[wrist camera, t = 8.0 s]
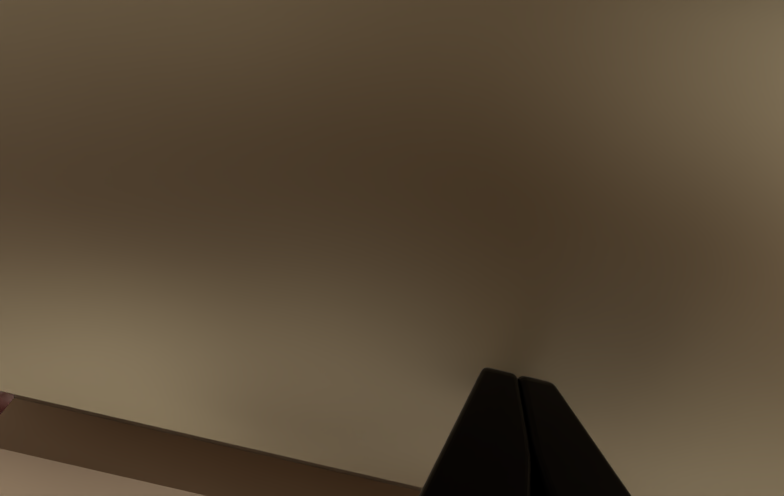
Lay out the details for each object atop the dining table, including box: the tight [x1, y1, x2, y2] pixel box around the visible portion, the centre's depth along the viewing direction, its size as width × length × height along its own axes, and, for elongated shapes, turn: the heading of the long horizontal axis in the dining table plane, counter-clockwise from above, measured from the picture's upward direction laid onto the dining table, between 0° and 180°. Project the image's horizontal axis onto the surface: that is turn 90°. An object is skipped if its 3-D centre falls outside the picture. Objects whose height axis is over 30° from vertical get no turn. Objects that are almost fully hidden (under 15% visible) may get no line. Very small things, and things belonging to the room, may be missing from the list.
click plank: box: [0, 0, 784, 496], centre depth 8 cm, size 8×20×2 cm, turn 79°
